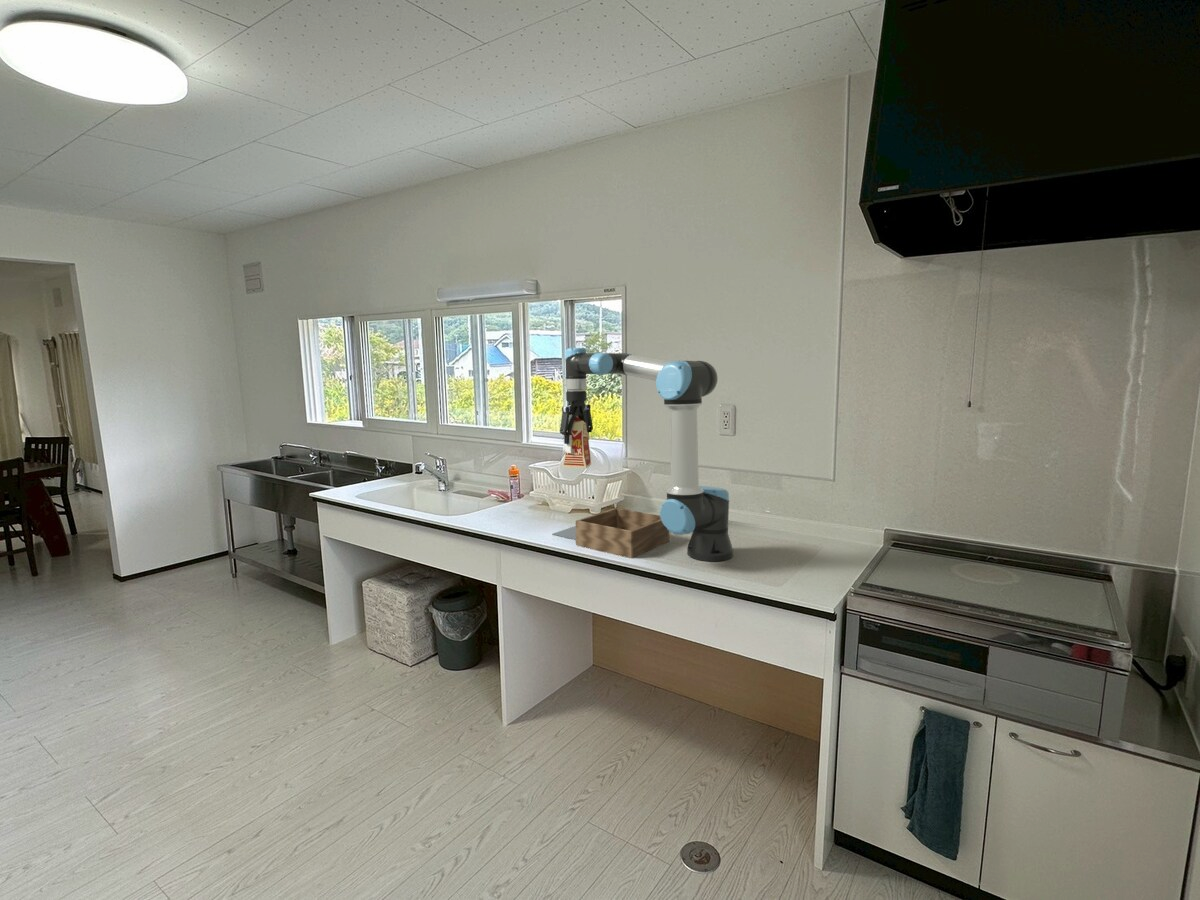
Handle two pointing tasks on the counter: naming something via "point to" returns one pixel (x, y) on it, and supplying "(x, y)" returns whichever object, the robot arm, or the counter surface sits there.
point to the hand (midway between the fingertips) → (577, 451)
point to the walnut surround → (621, 532)
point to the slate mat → (567, 533)
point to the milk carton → (578, 447)
